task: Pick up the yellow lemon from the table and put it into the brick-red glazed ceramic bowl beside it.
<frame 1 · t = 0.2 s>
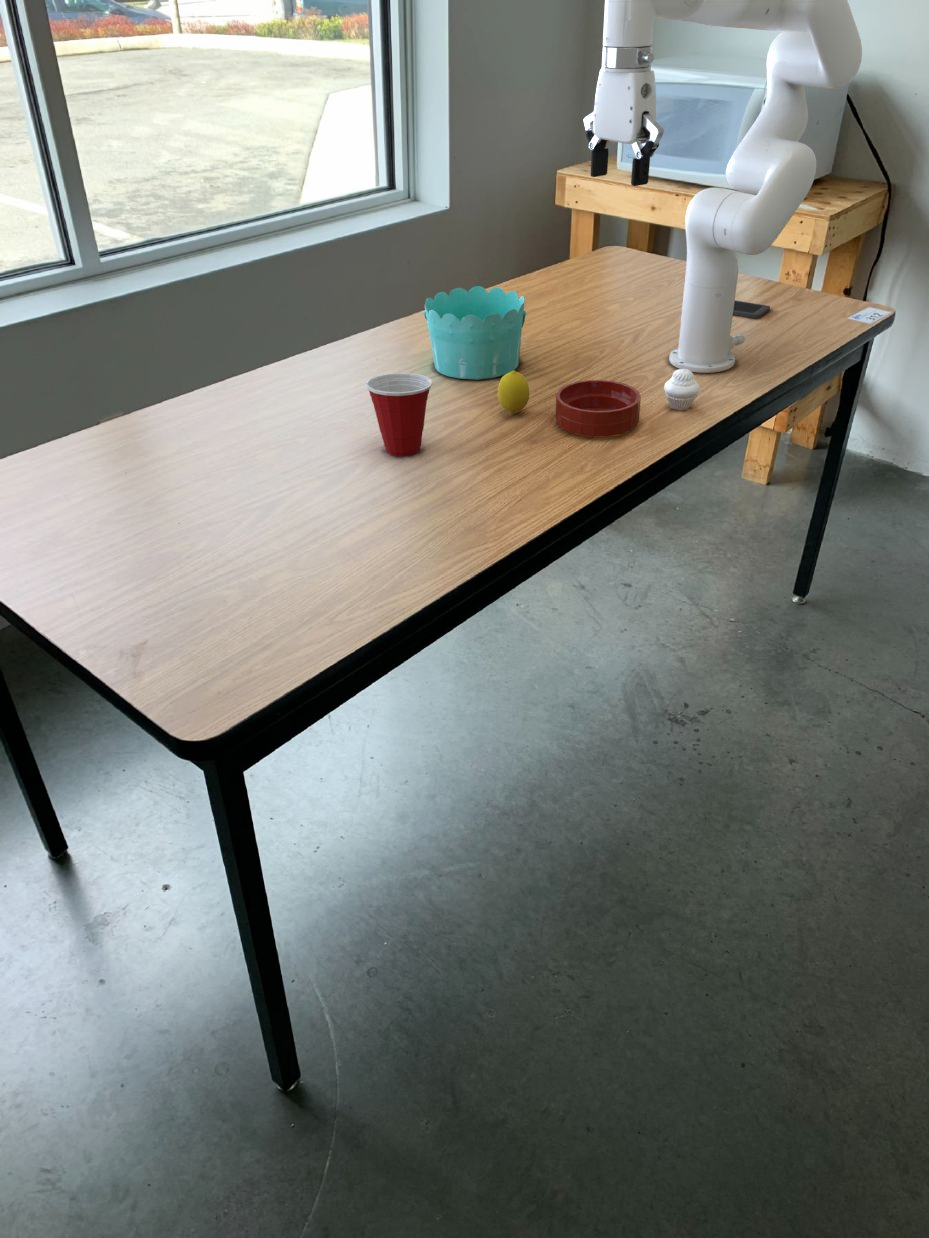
hand: (618, 180, 158), 36 cm above the table, tool pointing down, fingers open, 9 cm apart
bowl: (596, 422, 168), on the table
muffin: (679, 407, 173), on the table
plastic cup: (403, 450, 162), on the table
lemon: (513, 415, 172), on the table
basket: (476, 365, 193), on the table
cell phone: (734, 310, 216), on the table
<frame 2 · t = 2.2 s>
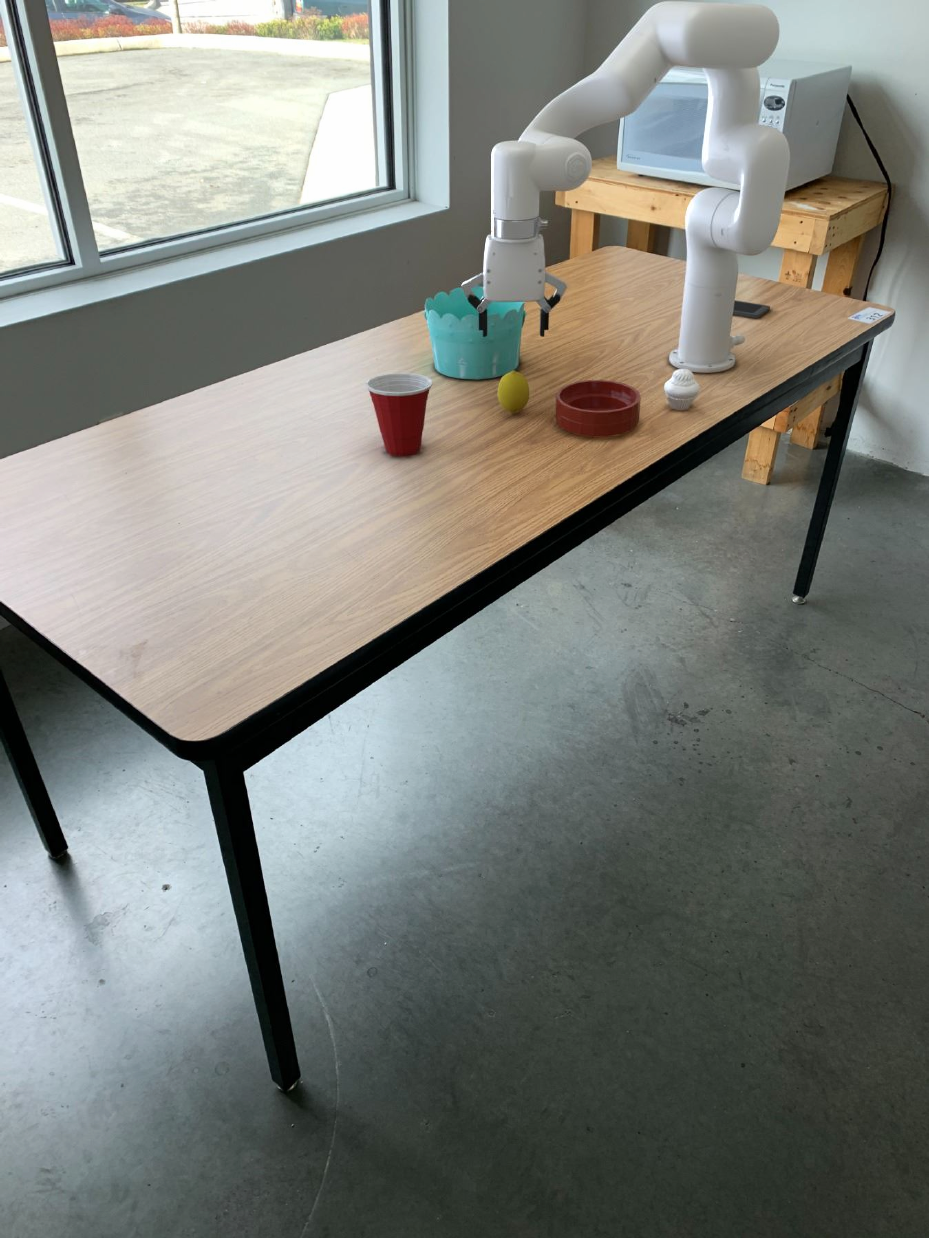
hand: (513, 334, 164), 14 cm above the table, tool pointing down, fingers open, 9 cm apart
nothing on the table moved.
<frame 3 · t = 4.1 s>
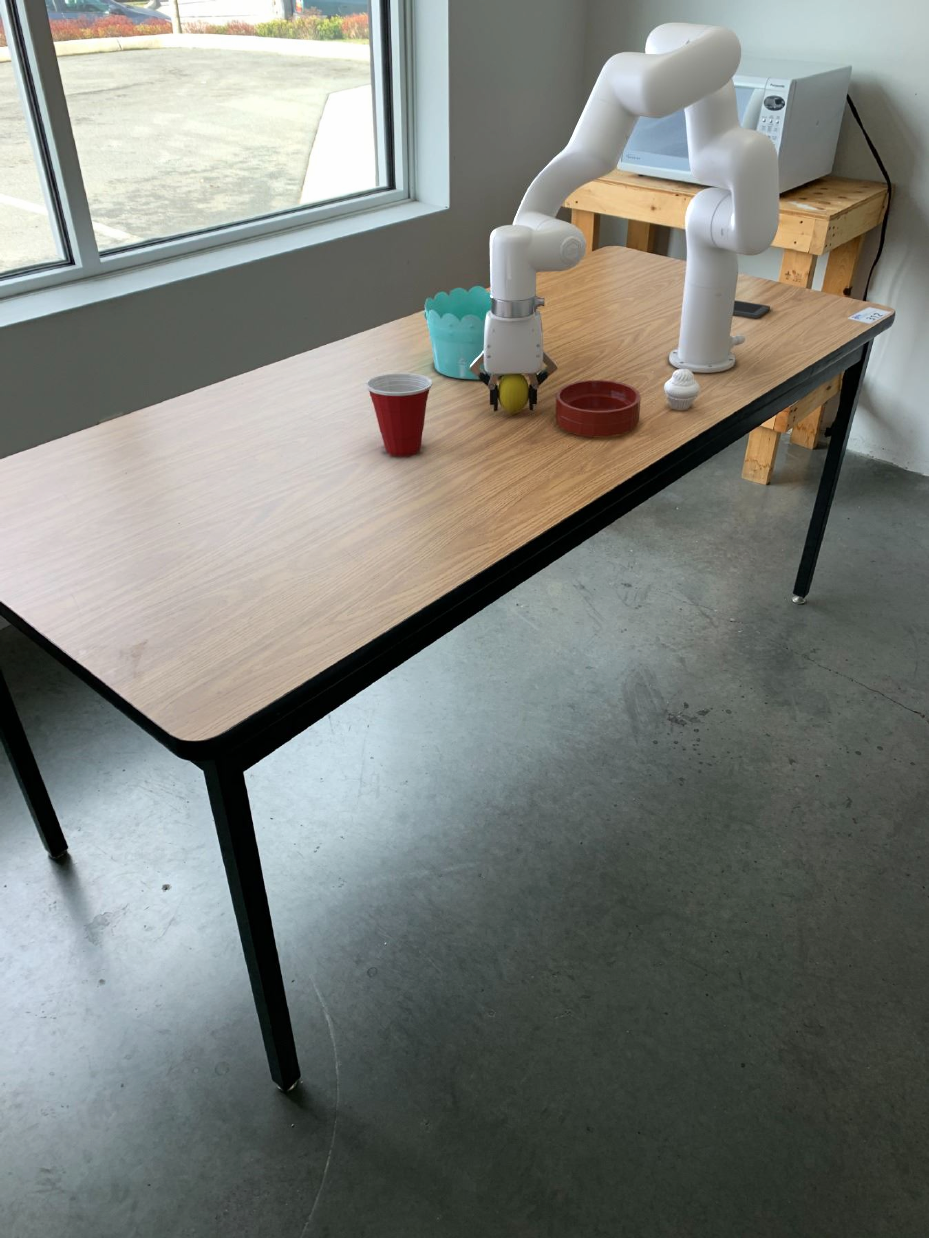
hand: (513, 407, 171), 1 cm above the table, tool pointing down, fingers closed on lemon, 5 cm apart
lemon: (513, 415, 172), on the table, touching gripper
everything else where it was.
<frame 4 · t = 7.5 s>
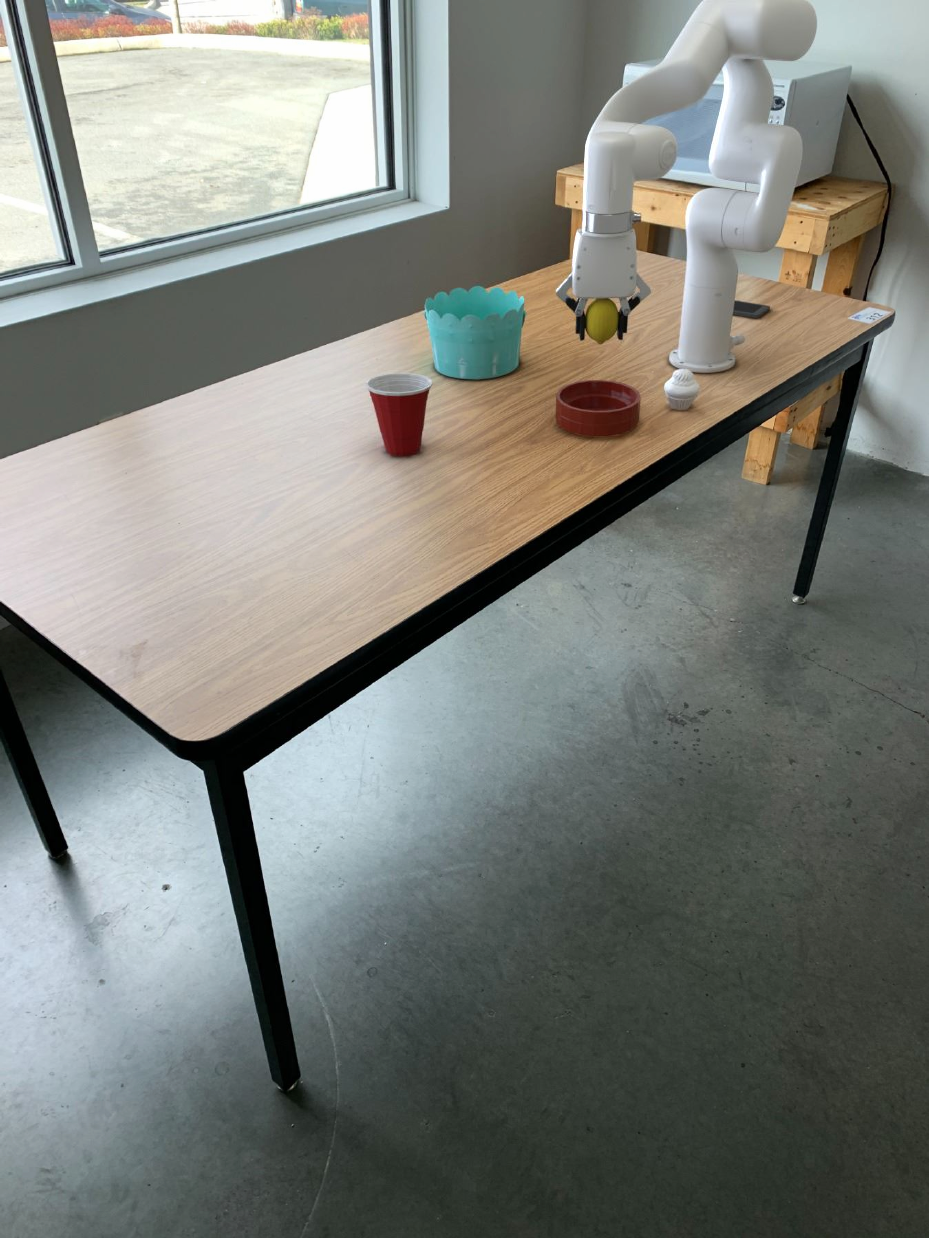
hand: (600, 336, 159), 15 cm above the table, tool pointing down, fingers closed on lemon, 5 cm apart
lemon: (600, 345, 160), point 14 cm above the table, touching gripper
everything else where it was.
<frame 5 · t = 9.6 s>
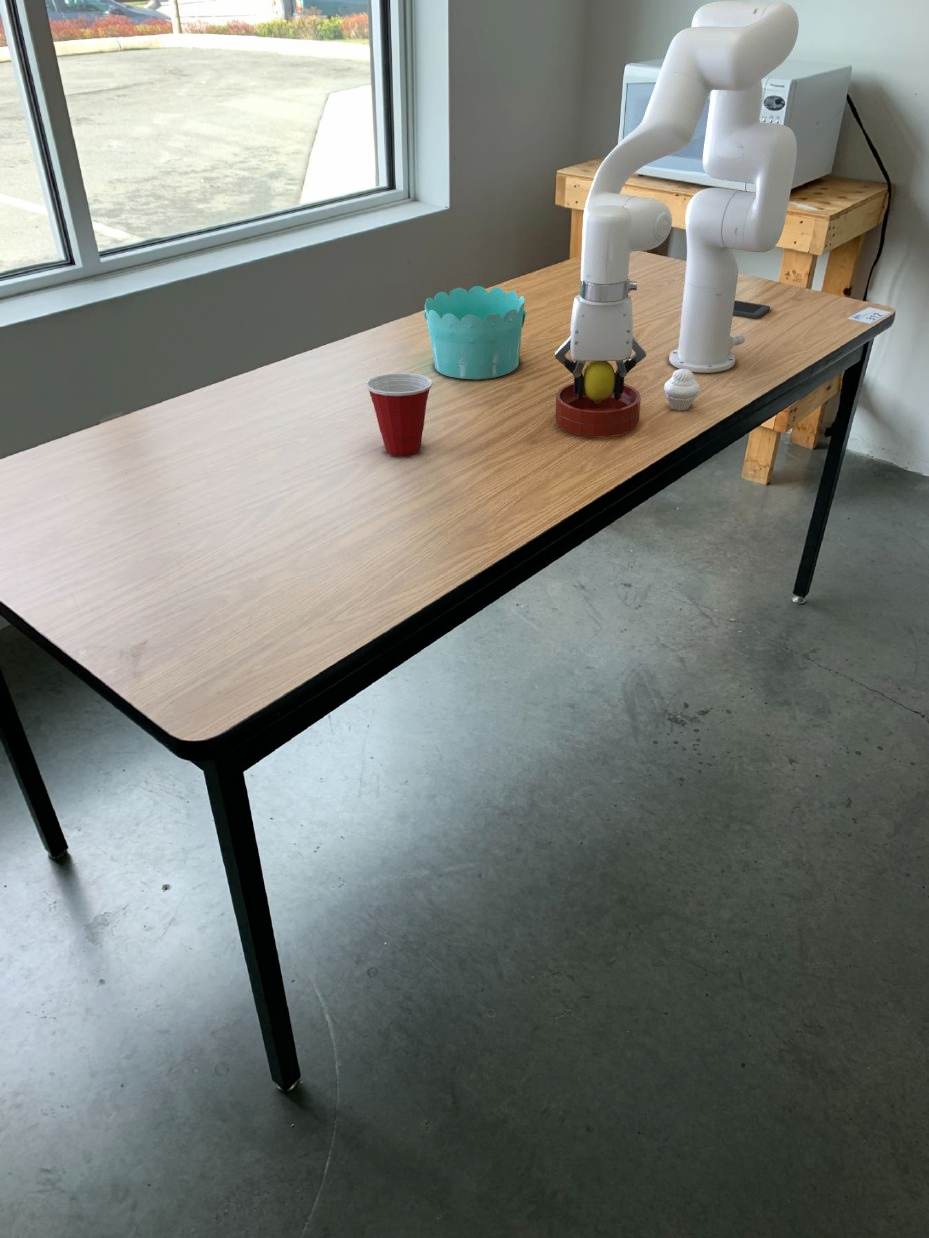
hand: (598, 396, 165), 5 cm above the table, tool pointing down, fingers closed on lemon, 5 cm apart
lemon: (597, 404, 166), point 3 cm above the table, touching gripper
everything else where it was.
when the fingers open (2 cm above the table, at t = 11.0 s): lemon stays where it is, resting on bowl.
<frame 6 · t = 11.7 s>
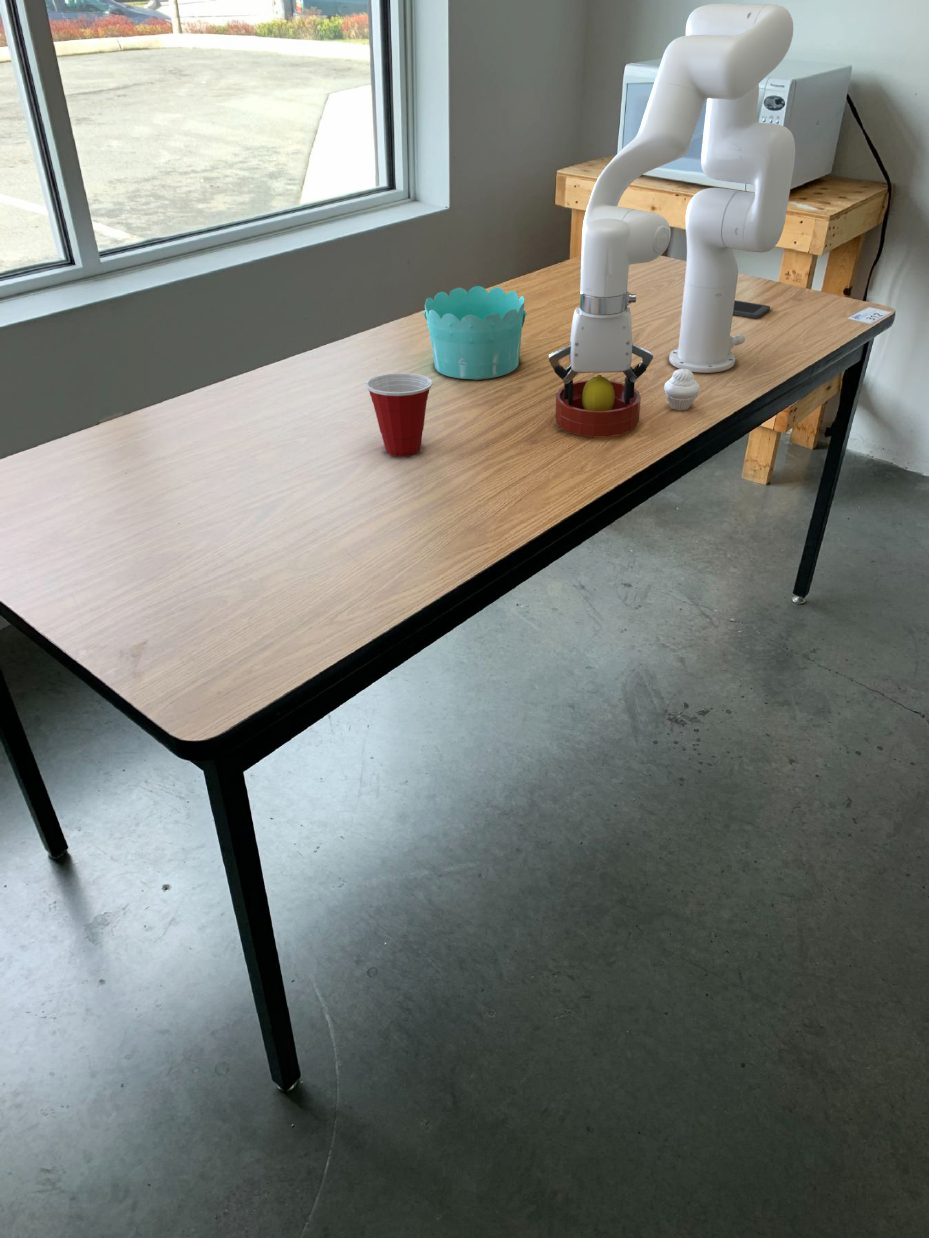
hand: (598, 402, 166), 4 cm above the table, tool pointing down, fingers open, 9 cm apart
lemon: (597, 420, 168), resting on bowl
everything else where it was.
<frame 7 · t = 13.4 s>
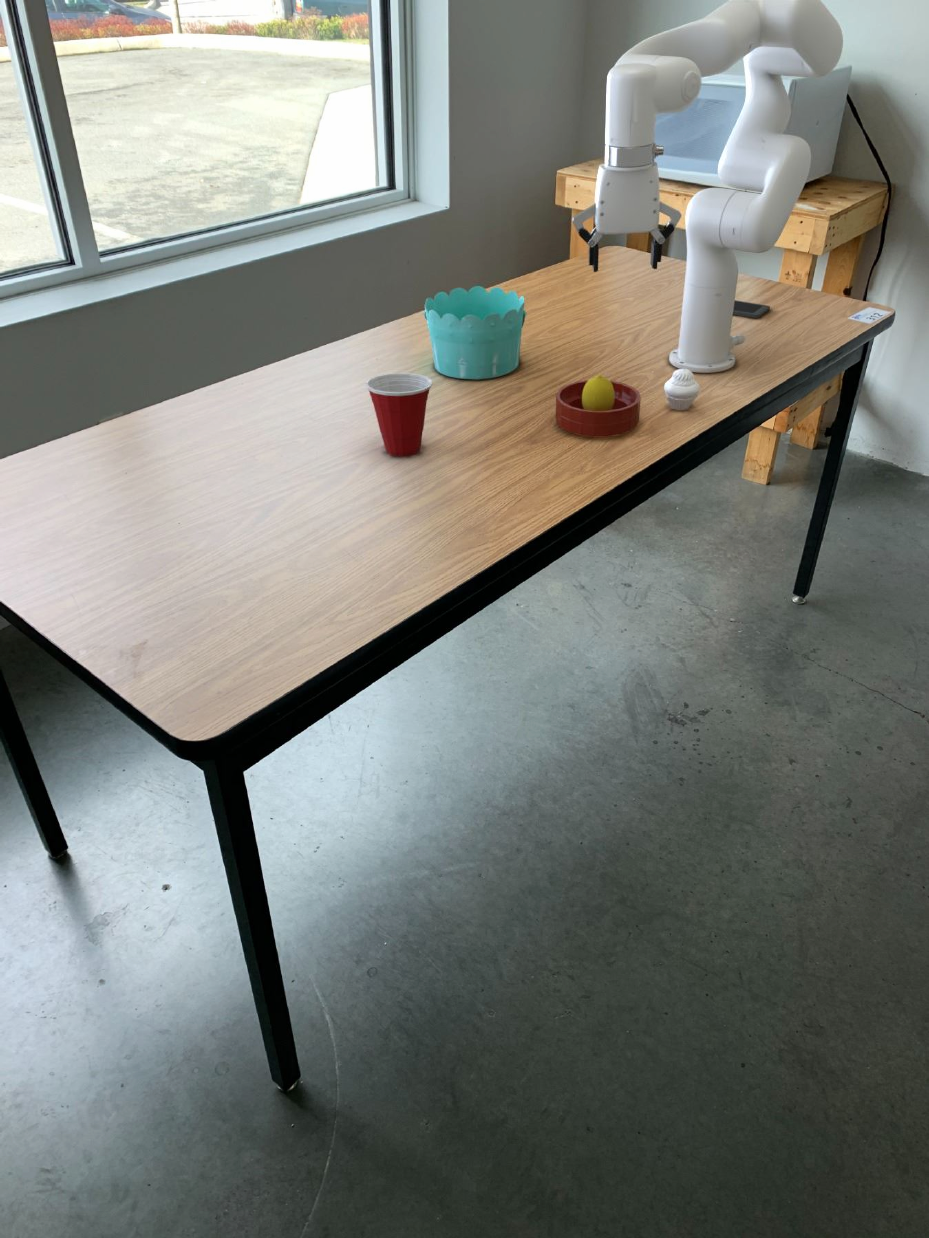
hand: (624, 268, 160), 24 cm above the table, tool pointing down, fingers open, 9 cm apart
nothing on the table moved.
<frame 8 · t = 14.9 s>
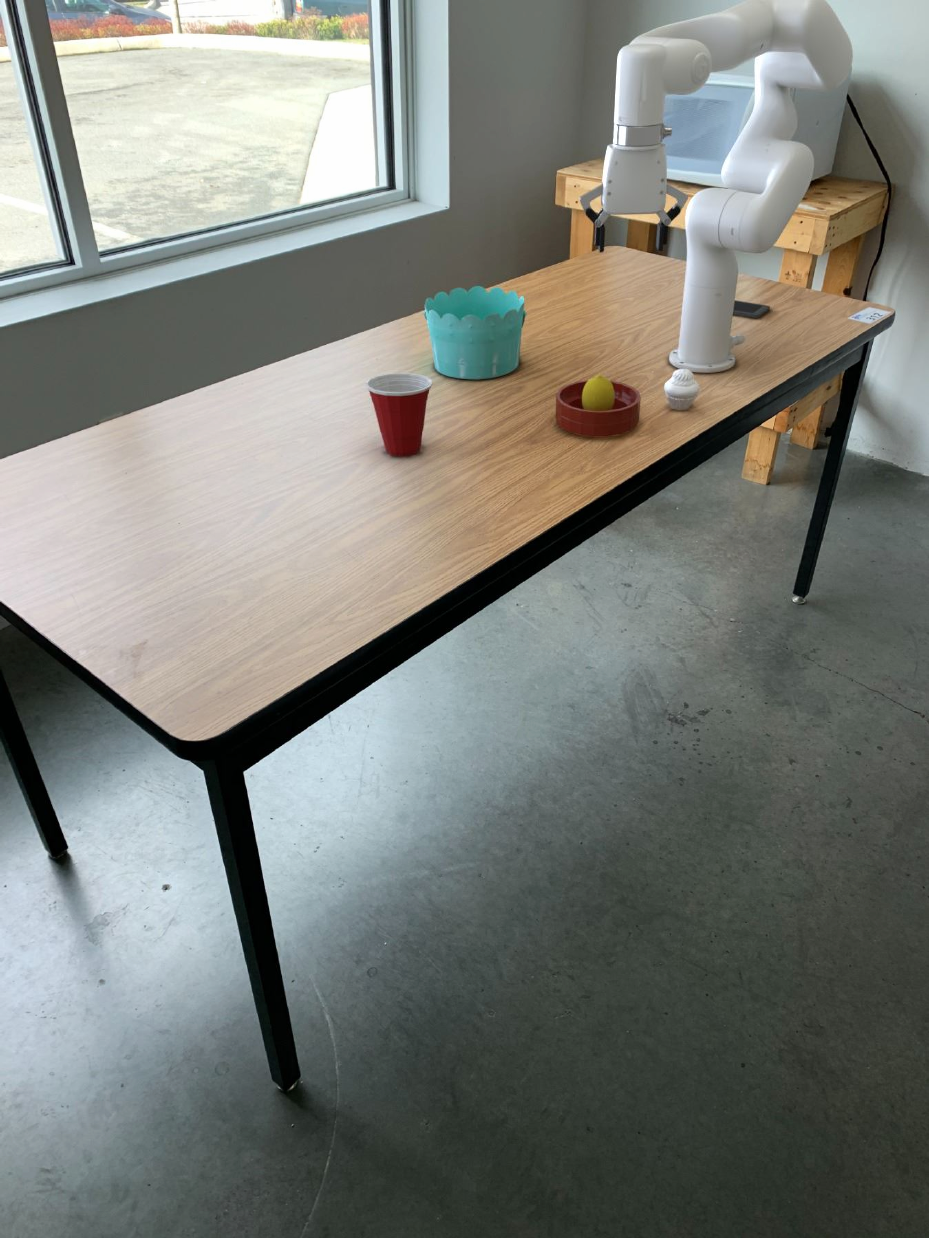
hand: (630, 249, 161), 26 cm above the table, tool pointing down, fingers open, 9 cm apart
nothing on the table moved.
at the end: lemon inside the target area in the bowl (0.0 cm from its centre), point 0.4 cm above the bowl's base; the gripper is holding nothing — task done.
